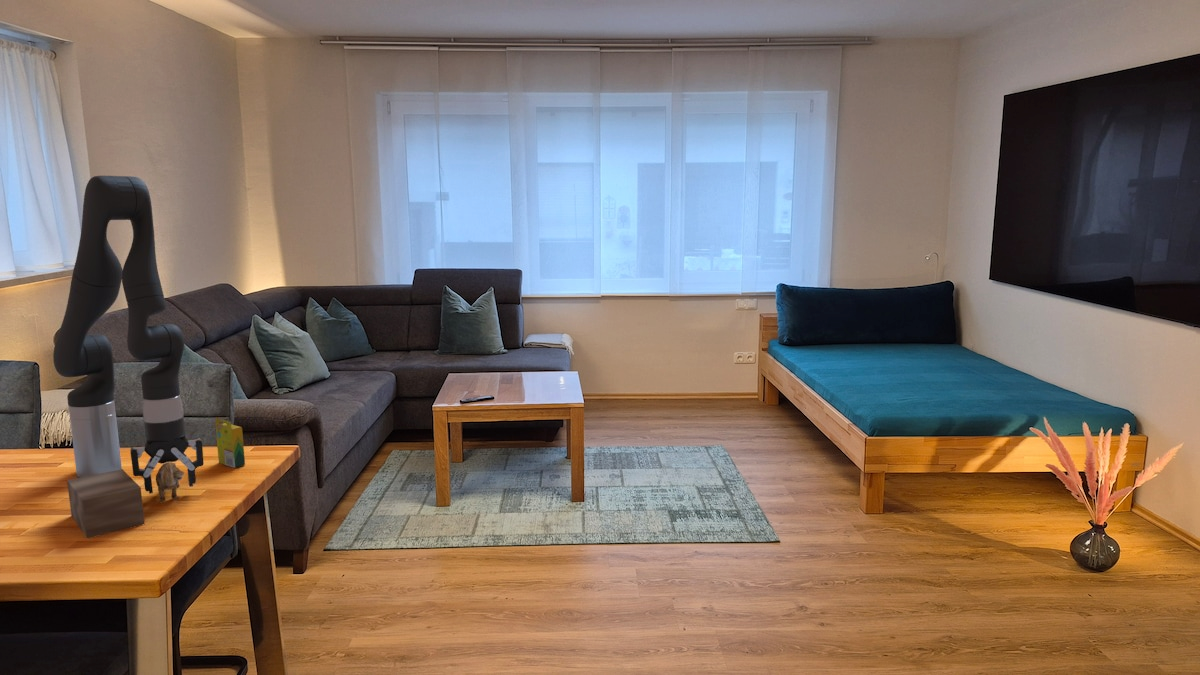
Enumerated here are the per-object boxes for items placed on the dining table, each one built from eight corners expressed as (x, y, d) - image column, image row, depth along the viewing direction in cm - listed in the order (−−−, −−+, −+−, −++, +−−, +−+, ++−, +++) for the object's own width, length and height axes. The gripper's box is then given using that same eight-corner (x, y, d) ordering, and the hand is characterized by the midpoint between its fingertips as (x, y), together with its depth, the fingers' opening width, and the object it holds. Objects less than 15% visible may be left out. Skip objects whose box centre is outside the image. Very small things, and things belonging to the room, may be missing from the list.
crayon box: (245, 465, 195) (242, 419, 193) (234, 468, 193) (230, 422, 191) (229, 459, 200) (225, 415, 198) (218, 462, 197) (214, 417, 195)
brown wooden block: (71, 516, 165) (67, 480, 163) (126, 504, 171) (122, 469, 170) (87, 539, 154) (82, 500, 152) (144, 525, 161) (140, 487, 159)
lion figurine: (188, 503, 172) (184, 463, 170) (160, 508, 169) (156, 468, 167) (179, 483, 184) (175, 445, 182) (152, 487, 181) (148, 449, 179)
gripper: (199, 408, 179) (205, 478, 181) (125, 417, 171) (133, 489, 174) (202, 416, 172) (208, 488, 175) (125, 425, 165) (133, 500, 168)
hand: (171, 488), depth 175 cm, fingers open, 7 cm apart
